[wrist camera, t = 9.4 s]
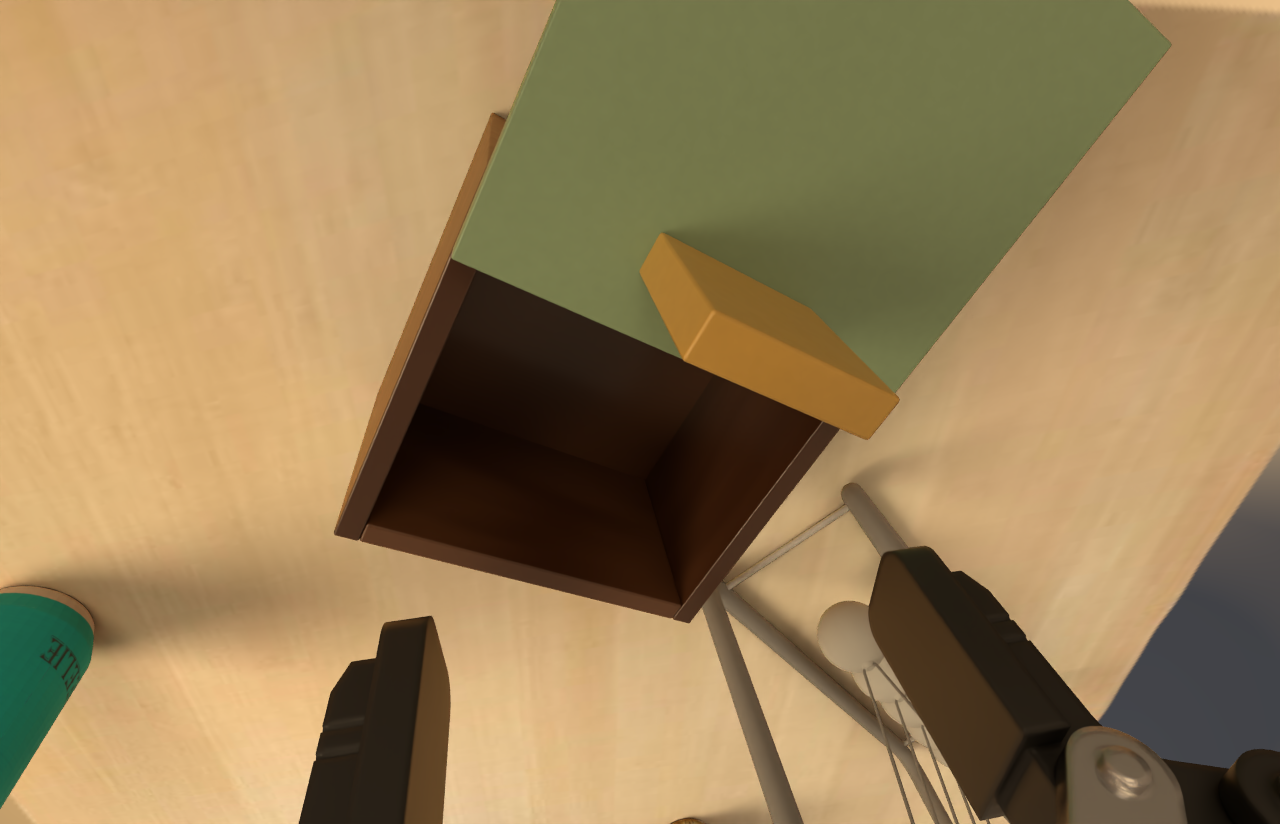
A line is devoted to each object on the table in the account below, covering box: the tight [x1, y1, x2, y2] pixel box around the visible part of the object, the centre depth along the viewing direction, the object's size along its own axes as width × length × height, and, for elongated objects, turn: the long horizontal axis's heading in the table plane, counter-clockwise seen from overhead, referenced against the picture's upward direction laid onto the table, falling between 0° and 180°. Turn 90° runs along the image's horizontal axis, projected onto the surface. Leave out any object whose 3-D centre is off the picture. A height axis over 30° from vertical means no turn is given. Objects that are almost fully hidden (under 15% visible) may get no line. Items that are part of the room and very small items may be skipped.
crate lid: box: [452, 0, 1172, 440], centre depth 14 cm, size 14×13×6 cm
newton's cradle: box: [702, 483, 1010, 824], centre depth 36 cm, size 30×10×18 cm, turn 38°
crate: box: [334, 113, 840, 623], centre depth 25 cm, size 14×13×9 cm
